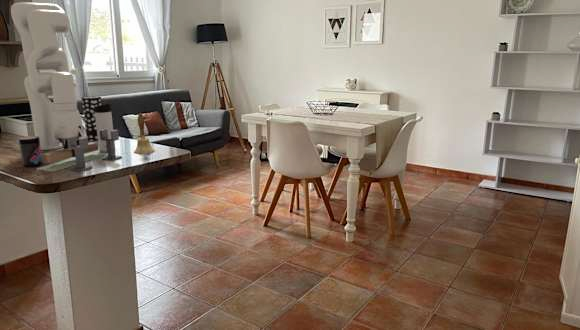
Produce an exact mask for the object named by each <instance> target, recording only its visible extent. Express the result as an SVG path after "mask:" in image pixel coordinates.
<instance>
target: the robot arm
mask: <svg viewBox="0 0 580 330" xmlns="http://www.w3.org/2000/svg"><path fill="white" fill-rule="evenodd" d="M10 14H11V18H12V19H11V20H12V21H13V24H14V25H15V27H16V29H17V31H18V33H19V36H20V41H21V46H22V52H23V57H24V58H23V59H24V63H25V66H26V71H27V76H25V78H24V83H23V84H24V89H25V90H26V94H27V97H28V102H29V106H30V112H31V119H32V124H33V131H34V136H39V139H40V146H41V151H51V150H56V149H57V150H58V149H61V148H62V149H66V148H68V141H67V138H70V137H76V141H77V145H79V139H81V138H85V137H86V136H85V134H84V131H85V130H84V124H83V120H82V117H81V114H80V111H79V109H78V101H77V93H76V87H75V86H76V85H75V79H74V76H73V73H72V74H71V73H70V68H69V61H68V57H67V53H66V52H65V50H64V49H62V48H61V46H60V43H59V39H58V35H57V34H58V33H59V34H66V33H69V31H70V29H71V21H70V19H69V16H68V14H67V12H66V11H65V10H64V9H63V8H62V7H60V6H59V5H58V4H55V3H45V2H43V3H42V2H26V1H25V2H22V1H21V2H16V3H13V4H11V7H10ZM38 71H39V72H38ZM42 71H43V72H42ZM49 97H52V99H53V100H52V101H53V102H52V101H51V100H50V99H49ZM72 154H73V157H75V151H74V149H72ZM73 157H72V158H73Z"/></svg>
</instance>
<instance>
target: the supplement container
mask: <svg viewBox="0 0 580 330" xmlns="http://www.w3.org/2000/svg"><path fill="white" fill-rule="evenodd" d="M17 141H18V146H19V152H20V159H21V165H22V167H24V168H35V167H36V168H38V167H41V166H42V165H43V164H44V163H43V157H42V154H43V152H42V150H41V146H40V139H39V136H35V135H28V136H21V137H17ZM40 165H41V166H40Z"/></svg>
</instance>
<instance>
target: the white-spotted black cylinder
mask: <svg viewBox="0 0 580 330" xmlns="http://www.w3.org/2000/svg"><path fill="white" fill-rule="evenodd" d="M81 103H82V111H83V112H82V113H83V119H84V128H85V134H86V136H85V137H87V138H88V142H98V135H97V127H96V119H95V110H94V106H99V105H103V104H102V96H84V97H81Z"/></svg>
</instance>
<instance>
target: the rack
mask: <svg viewBox="0 0 580 330" xmlns="http://www.w3.org/2000/svg"><path fill="white" fill-rule="evenodd" d="M110 132H111V137H108V133H107V129H104V130H100V139H101V140H104V141H106V145H107V153H106V156H103V157H101V160H102V161H106V162H107V161H109V162H115V161H118V160H120V159H122V158H123V157H122V155H116V145H115V146H114V141H115V142H116V141H119V140H120V138H119V129H113V131H110ZM67 141H68V149H74V151H75V158H76V165H75V166H73V167H71V168H70V167H69V171H70V172H79V173H80V172H81V173H83V172H85V171H88V170H91V169H93V166H92V165H86V162H85V158H84V151H83V150H84V149H88V148H89V146H88V143H89V141H88V138H87V136H85V138H81V139H79V145H77V141H76V137H70V138H67Z"/></svg>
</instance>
